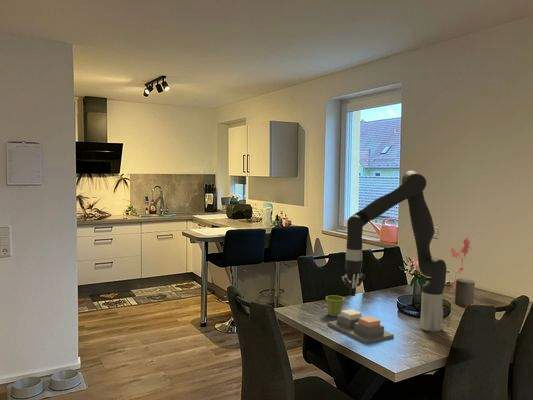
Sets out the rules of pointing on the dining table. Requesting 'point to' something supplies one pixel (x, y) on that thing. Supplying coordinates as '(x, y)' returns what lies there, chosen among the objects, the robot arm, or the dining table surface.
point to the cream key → (351, 314)
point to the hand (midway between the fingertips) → (352, 295)
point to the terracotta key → (369, 322)
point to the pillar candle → (464, 292)
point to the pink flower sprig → (455, 254)
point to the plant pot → (334, 305)
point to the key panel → (360, 330)
